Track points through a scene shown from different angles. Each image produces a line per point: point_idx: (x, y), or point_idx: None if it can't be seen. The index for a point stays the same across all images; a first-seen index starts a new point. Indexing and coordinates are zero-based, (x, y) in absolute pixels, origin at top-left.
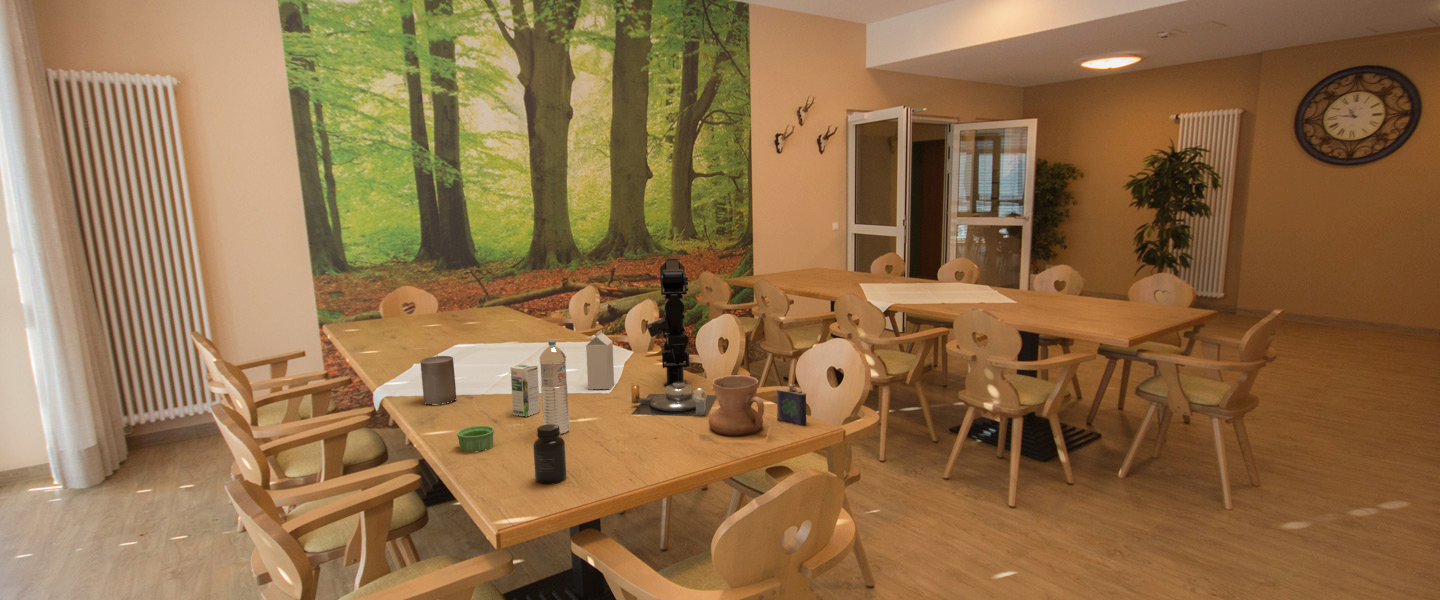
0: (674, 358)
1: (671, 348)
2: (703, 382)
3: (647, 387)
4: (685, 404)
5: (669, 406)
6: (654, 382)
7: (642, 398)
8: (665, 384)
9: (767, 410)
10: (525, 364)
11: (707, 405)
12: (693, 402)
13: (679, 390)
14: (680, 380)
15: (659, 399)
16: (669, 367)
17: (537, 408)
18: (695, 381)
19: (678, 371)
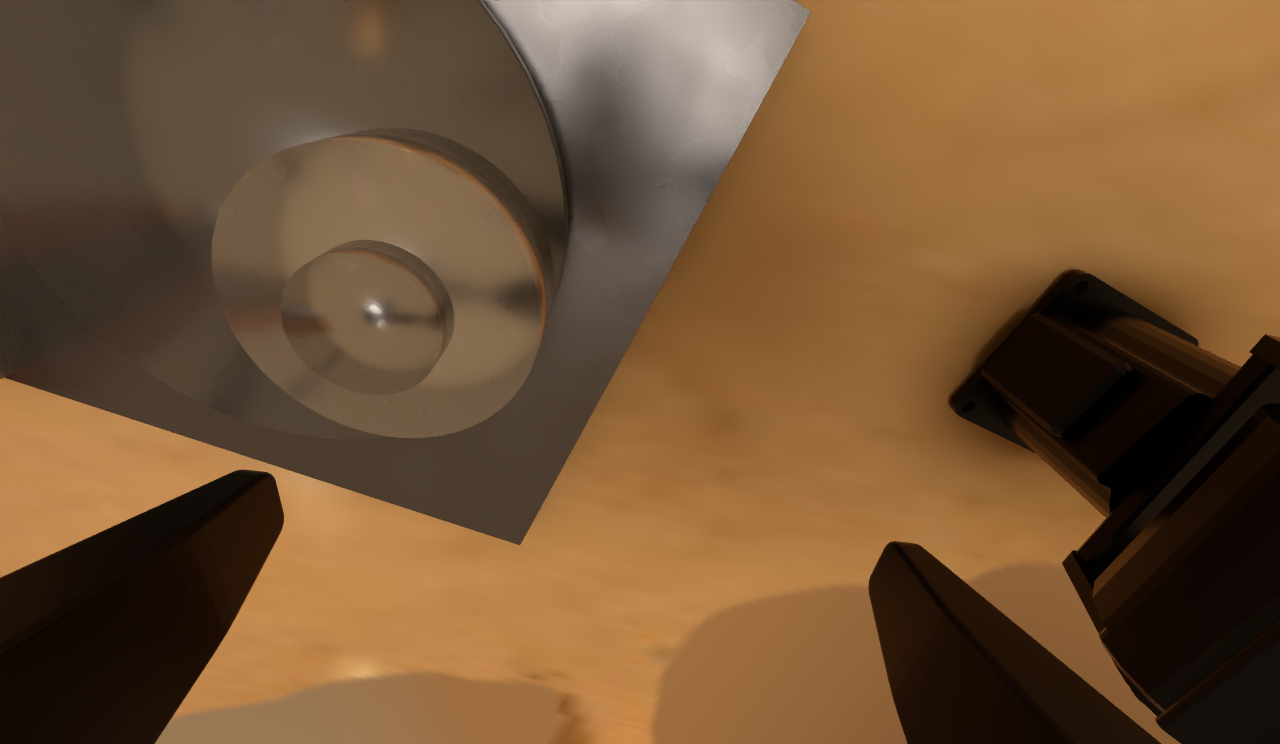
0: (46, 558)
1: (1016, 739)
2: (958, 544)
3: (1166, 91)
4: (113, 259)
5: (13, 69)
6: (1275, 213)
7: None
8: (1085, 287)
9: (219, 661)
10: None
11: (254, 428)
12: (189, 343)
13: (213, 279)
14: (1015, 421)
15: (330, 23)
16: (1201, 411)
17: None
18: (1022, 510)
19: (1078, 461)
